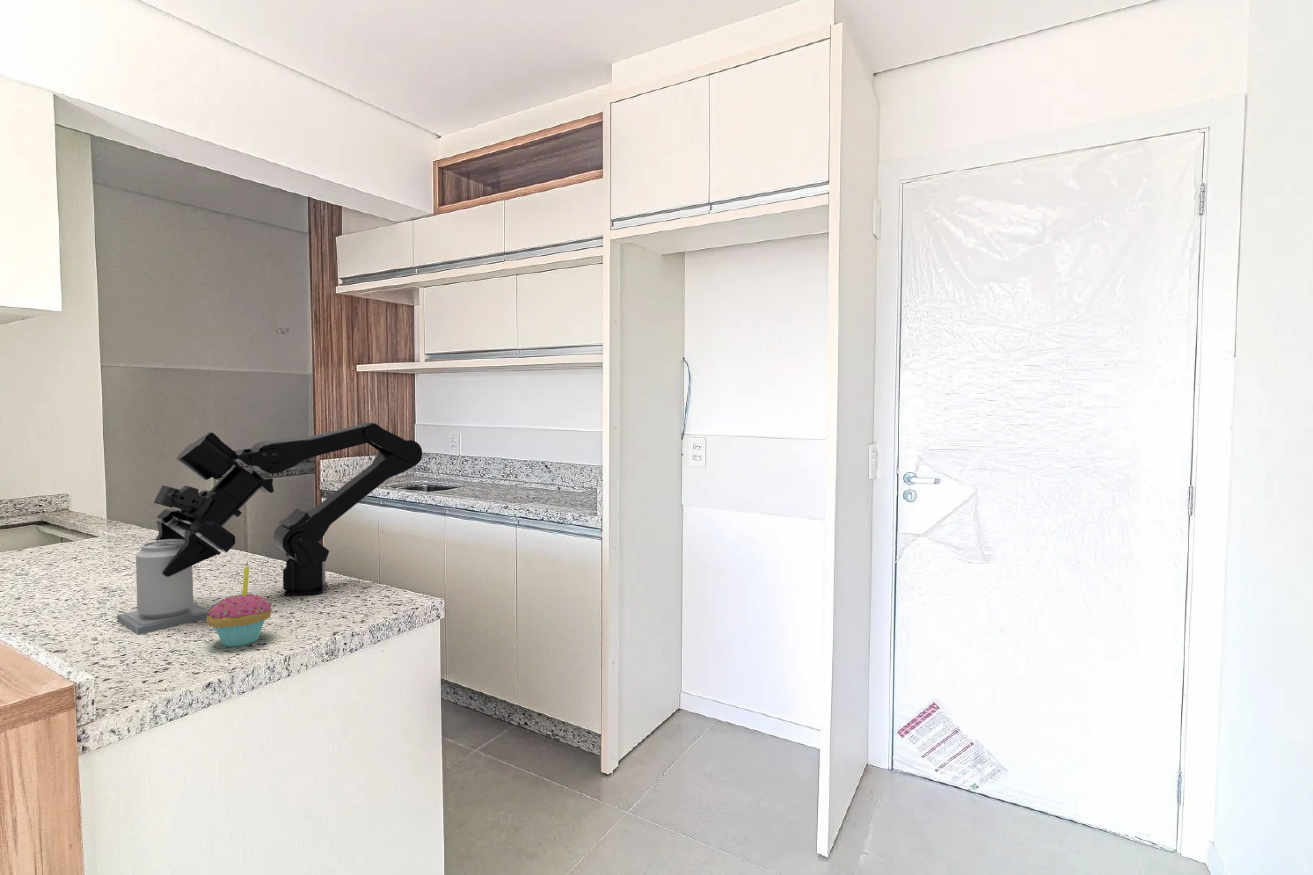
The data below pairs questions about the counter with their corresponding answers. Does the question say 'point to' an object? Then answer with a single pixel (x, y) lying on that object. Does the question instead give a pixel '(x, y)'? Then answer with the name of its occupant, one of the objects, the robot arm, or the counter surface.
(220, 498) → the robot arm
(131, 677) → the counter surface
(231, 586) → the counter surface
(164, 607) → the can
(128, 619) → the plate
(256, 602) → the cupcake
